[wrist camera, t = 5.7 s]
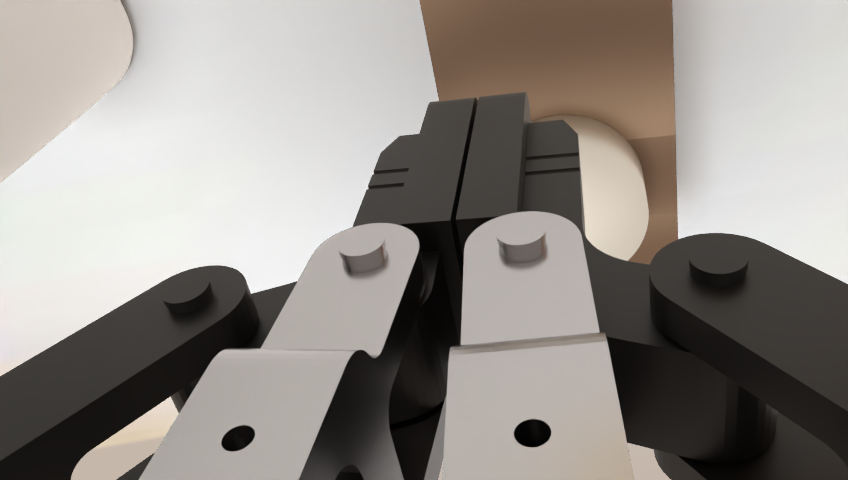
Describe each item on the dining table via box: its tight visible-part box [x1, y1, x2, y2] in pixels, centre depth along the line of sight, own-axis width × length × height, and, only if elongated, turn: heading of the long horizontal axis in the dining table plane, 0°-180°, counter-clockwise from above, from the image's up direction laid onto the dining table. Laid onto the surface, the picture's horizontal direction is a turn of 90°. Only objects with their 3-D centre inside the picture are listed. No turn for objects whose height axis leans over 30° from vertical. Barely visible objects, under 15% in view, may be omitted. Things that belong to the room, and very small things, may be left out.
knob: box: [531, 115, 649, 261], centre depth 27 cm, size 5×5×8 cm
